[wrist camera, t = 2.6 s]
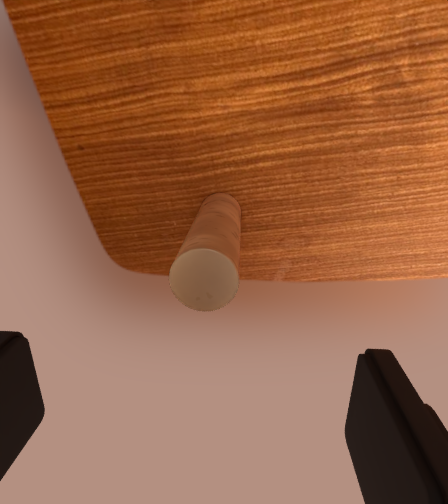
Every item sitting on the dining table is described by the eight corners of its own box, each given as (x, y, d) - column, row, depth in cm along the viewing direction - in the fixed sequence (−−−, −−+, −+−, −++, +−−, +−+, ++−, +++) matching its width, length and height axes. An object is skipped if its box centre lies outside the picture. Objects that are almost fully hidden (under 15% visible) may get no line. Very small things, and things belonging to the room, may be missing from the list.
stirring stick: (200, 231, 27) (170, 310, 16) (199, 192, 26) (166, 247, 15) (240, 232, 27) (238, 313, 16) (241, 192, 26) (239, 249, 15)
